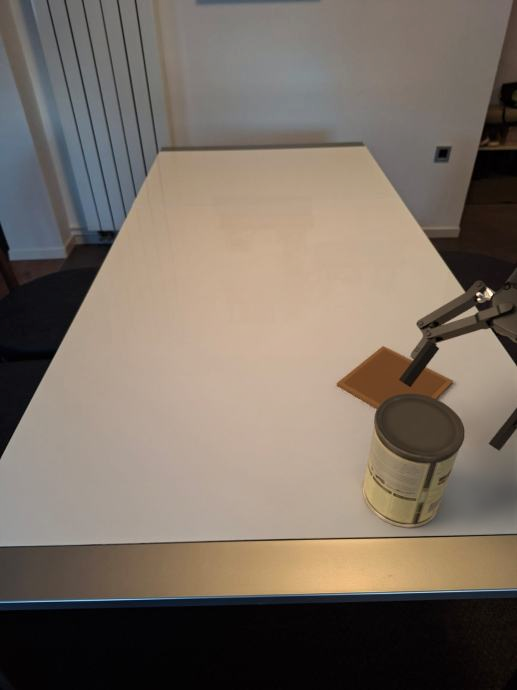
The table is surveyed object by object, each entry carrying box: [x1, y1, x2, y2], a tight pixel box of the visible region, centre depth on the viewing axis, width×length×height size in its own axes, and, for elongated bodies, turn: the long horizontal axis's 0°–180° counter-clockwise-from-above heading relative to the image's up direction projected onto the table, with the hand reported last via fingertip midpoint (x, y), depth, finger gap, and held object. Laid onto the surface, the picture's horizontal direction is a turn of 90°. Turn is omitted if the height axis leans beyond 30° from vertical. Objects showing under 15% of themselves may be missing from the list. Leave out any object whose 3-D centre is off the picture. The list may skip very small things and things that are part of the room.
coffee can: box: [362, 394, 466, 529], centre depth 63 cm, size 10×10×14 cm
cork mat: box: [336, 345, 454, 410], centre depth 84 cm, size 14×14×1 cm
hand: (445, 413), depth 62 cm, fingers open, 13 cm apart
